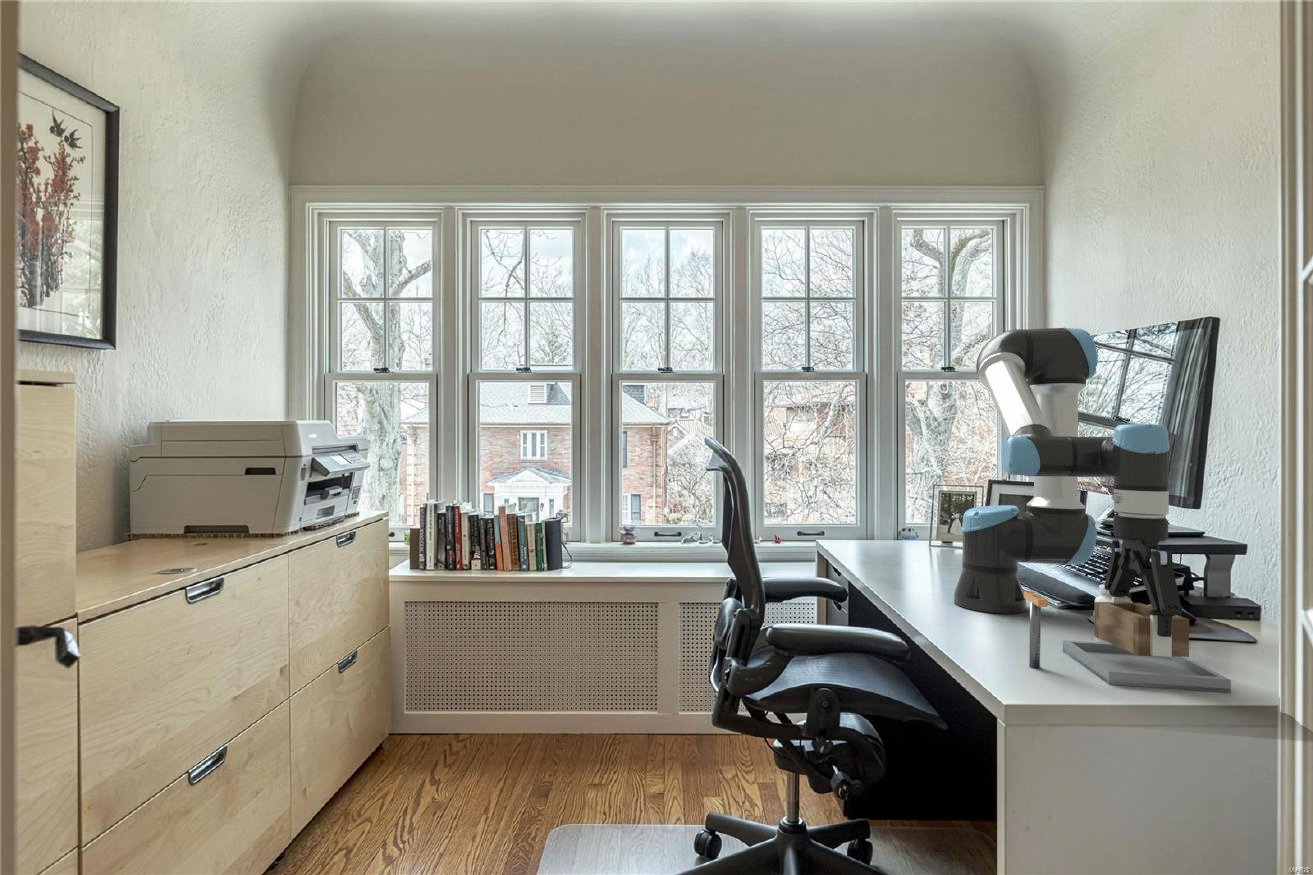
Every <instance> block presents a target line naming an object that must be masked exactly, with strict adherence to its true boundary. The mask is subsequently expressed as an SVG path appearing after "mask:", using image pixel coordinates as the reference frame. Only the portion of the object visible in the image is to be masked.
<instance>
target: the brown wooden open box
mask: <svg viewBox="0 0 1313 875" xmlns="http://www.w3.org/2000/svg"><path fill="white" fill-rule="evenodd" d="M1152 610H1153V608H1152V605H1148V604H1145V603H1141V602H1133V603H1119V602H1095V601H1094V617H1093V618H1094V619H1093V620H1094V623H1093V624H1094V628H1093V629H1094V630H1093V633H1094V634H1093V636H1094V637H1095V636H1096V637H1098V638H1100V639H1102V640H1104V641H1107V642H1109V643H1111V644H1113V645H1116V646H1118V647H1120V648H1122V649H1125V650H1127V651H1129V652H1131V653H1133V654H1136V655H1138V656H1152V655H1150V614H1149V613H1150V611H1152ZM1172 656H1177V657H1188V658H1190V619H1189V618H1186V617H1183V616H1182V615H1175V616H1172Z"/></svg>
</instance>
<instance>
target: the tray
mask: <svg viewBox="0 0 1313 875" xmlns="http://www.w3.org/2000/svg"><path fill="white" fill-rule="evenodd" d="M1062 652H1063V653H1065V655H1067V656H1069V657H1070V658H1072V659H1073V660H1074V661H1075V662H1077V663H1079V665H1081V666H1083V667H1084V668H1085V669H1087V670H1088V671H1089V672H1091V673H1092V674H1094V675H1095V676H1097V677H1098V678H1099V679H1101V680H1102V681H1103V682H1105V683H1106V684H1108V685H1111V686H1112V685H1113V686H1115V685H1116V686H1124V687H1125V686H1129V687H1141V688H1142V687H1144V688H1156V689H1158V688H1159V689H1170V690H1171V689H1173V690H1184V691H1185V690H1186V691H1187V690H1188V691H1199V692H1200V691H1201V692H1213V691H1221V692H1220V693H1228V692H1231V690H1232V689H1231V687H1232V686H1231V685H1232V683H1231V682H1232V680H1231V679H1230V678H1228V677H1227V676H1224V675H1222V674H1220V673H1219V672H1217V671H1215V670H1213V669H1211V668H1209V667H1207V666H1205V665H1203V664H1201V663H1200V662H1197V660H1196V661H1195V660H1194V659H1192V658H1190V657H1177V656H1172V657H1163V656H1138V655H1136V654H1133V653H1131V652H1129V651H1127V650H1125V649H1122V648H1120V647H1118V646H1116V645H1113V644H1111V643H1103V642H1096V641H1084V640H1070V639H1069V640H1066V639H1062Z"/></svg>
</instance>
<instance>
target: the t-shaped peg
mask: <svg viewBox="0 0 1313 875" xmlns="http://www.w3.org/2000/svg"><path fill="white" fill-rule="evenodd" d="M1023 592H1024V598H1025V599H1026V601H1029V654H1028V657H1029V659H1028V660H1029V668H1032V669H1040V668H1041V626H1042V625H1041V617H1042V616H1041V612H1042V610H1041V609H1042V608H1045V607H1046V608H1048V599H1047V598H1045V597H1043V596H1042V595H1041V594H1038V593H1037V592H1034V591H1033V590H1023Z"/></svg>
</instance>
